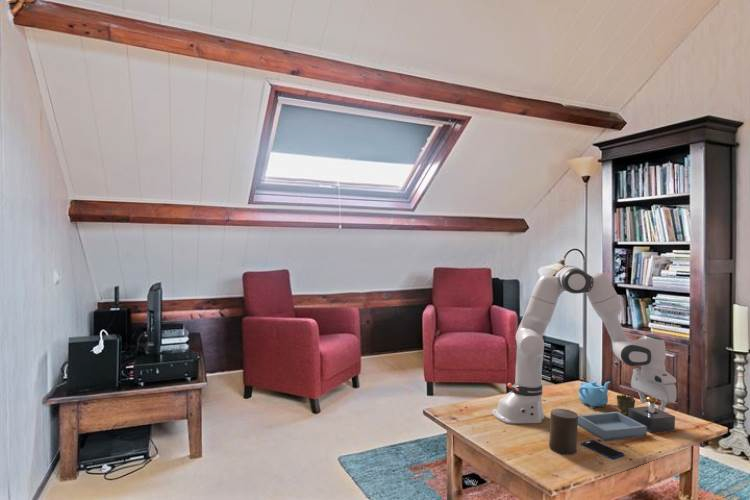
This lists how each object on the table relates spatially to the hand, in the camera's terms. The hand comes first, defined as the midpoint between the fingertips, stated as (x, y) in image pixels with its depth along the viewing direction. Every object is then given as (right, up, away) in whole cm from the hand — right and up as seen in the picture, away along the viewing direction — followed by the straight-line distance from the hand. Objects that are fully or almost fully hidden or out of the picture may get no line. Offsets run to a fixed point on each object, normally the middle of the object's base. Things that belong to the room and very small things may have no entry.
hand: (652, 405), depth 198 cm
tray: (-20, -9, -5) cm, 22 cm away
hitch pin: (0, -9, 0) cm, 9 cm away
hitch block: (0, -9, 0) cm, 9 cm away
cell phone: (-32, -10, -22) cm, 40 cm away
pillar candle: (-46, -9, -22) cm, 52 cm away
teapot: (-13, -8, +25) cm, 29 cm away
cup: (-4, -8, +13) cm, 16 cm away
